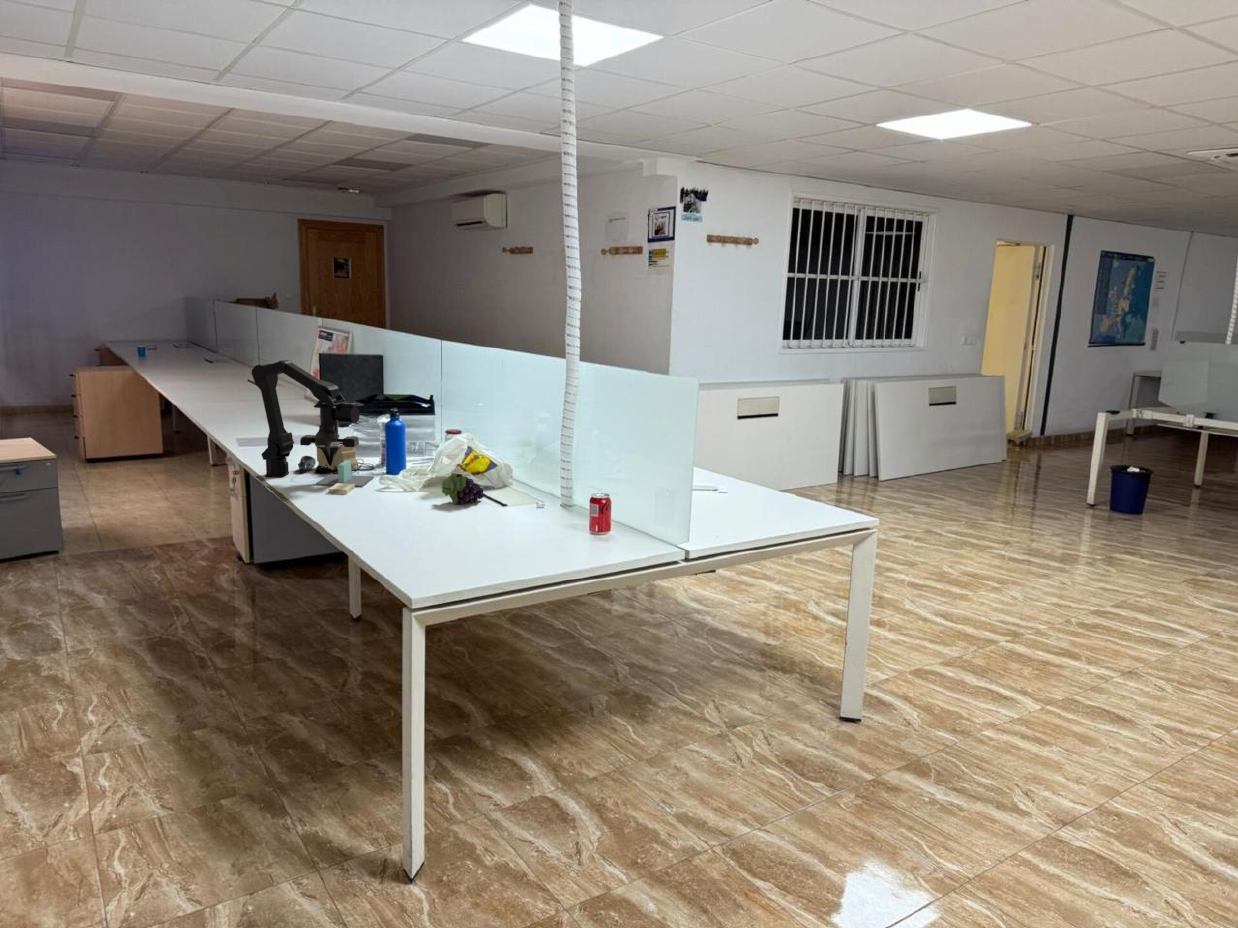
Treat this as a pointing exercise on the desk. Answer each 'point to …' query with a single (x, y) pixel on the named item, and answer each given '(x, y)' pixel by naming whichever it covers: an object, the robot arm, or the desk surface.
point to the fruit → (461, 489)
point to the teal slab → (344, 471)
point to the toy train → (338, 457)
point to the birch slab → (341, 488)
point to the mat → (356, 480)
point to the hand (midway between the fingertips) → (330, 465)
